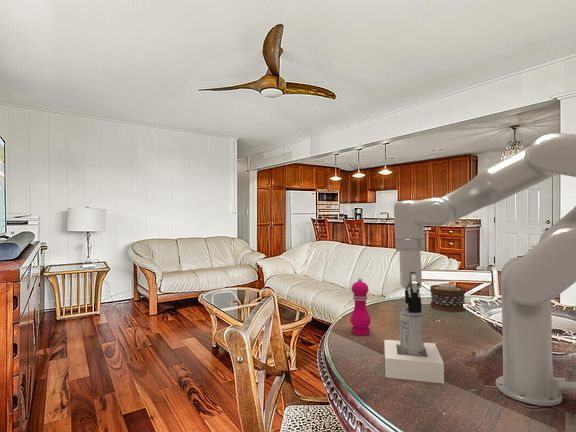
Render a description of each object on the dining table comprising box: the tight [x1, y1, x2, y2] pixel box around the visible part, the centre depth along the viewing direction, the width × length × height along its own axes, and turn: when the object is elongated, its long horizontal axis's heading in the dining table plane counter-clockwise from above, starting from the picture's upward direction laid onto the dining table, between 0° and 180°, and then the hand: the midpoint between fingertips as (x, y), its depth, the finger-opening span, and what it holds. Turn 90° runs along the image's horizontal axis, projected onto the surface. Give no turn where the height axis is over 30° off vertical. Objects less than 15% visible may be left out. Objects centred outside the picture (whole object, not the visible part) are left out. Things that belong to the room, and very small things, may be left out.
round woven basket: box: [430, 283, 466, 313], centre depth 154 cm, size 15×11×15 cm
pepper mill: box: [350, 277, 372, 336], centre depth 122 cm, size 7×7×20 cm
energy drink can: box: [399, 307, 425, 357], centre depth 92 cm, size 6×6×15 cm
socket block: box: [383, 339, 445, 385], centre depth 92 cm, size 14×14×5 cm
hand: (413, 307), depth 92 cm, fingers open, 9 cm apart
